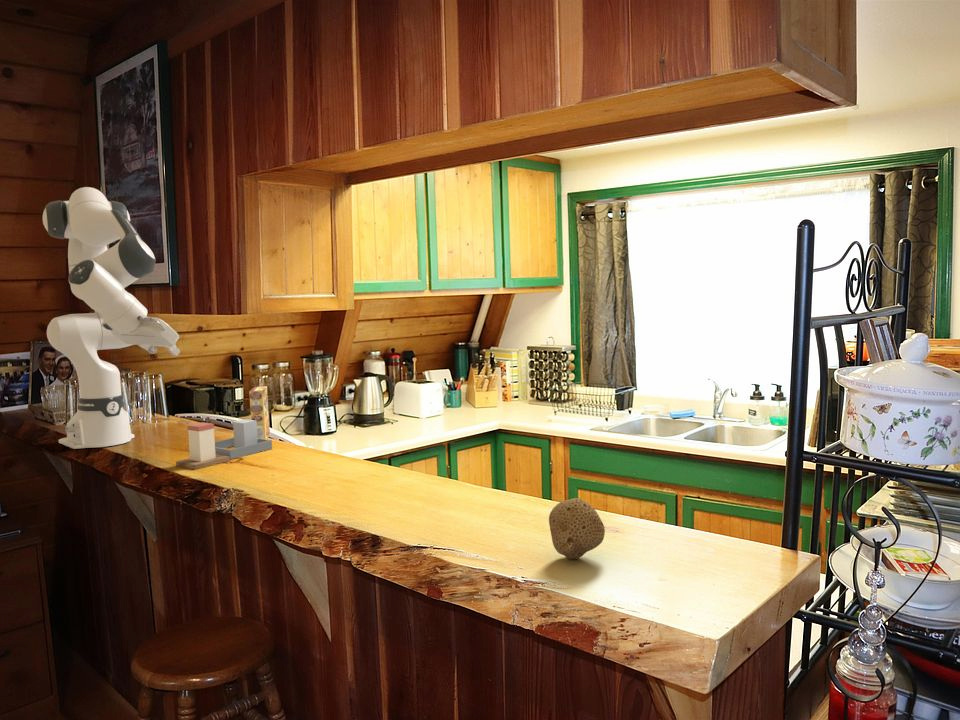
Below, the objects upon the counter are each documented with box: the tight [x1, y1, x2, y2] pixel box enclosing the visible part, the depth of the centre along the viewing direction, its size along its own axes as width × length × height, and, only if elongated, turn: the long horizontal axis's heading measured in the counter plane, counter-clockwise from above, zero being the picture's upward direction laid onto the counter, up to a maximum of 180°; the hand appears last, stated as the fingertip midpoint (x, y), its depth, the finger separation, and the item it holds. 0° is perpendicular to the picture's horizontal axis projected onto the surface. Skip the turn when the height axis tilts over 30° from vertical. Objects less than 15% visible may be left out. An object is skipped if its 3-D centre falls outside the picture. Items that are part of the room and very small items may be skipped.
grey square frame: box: [215, 437, 273, 460], centre depth 214 cm, size 13×14×2 cm
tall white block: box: [232, 419, 258, 448], centre depth 217 cm, size 4×4×8 cm
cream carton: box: [187, 422, 216, 462], centre depth 200 cm, size 5×5×9 cm
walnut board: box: [175, 454, 231, 470], centre depth 201 cm, size 8×10×1 cm
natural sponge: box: [548, 497, 606, 560], centre depth 126 cm, size 9×9×10 cm
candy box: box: [248, 386, 271, 440], centre depth 231 cm, size 9×4×15 cm, turn 8°
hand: (165, 352), depth 198 cm, fingers open, 8 cm apart
